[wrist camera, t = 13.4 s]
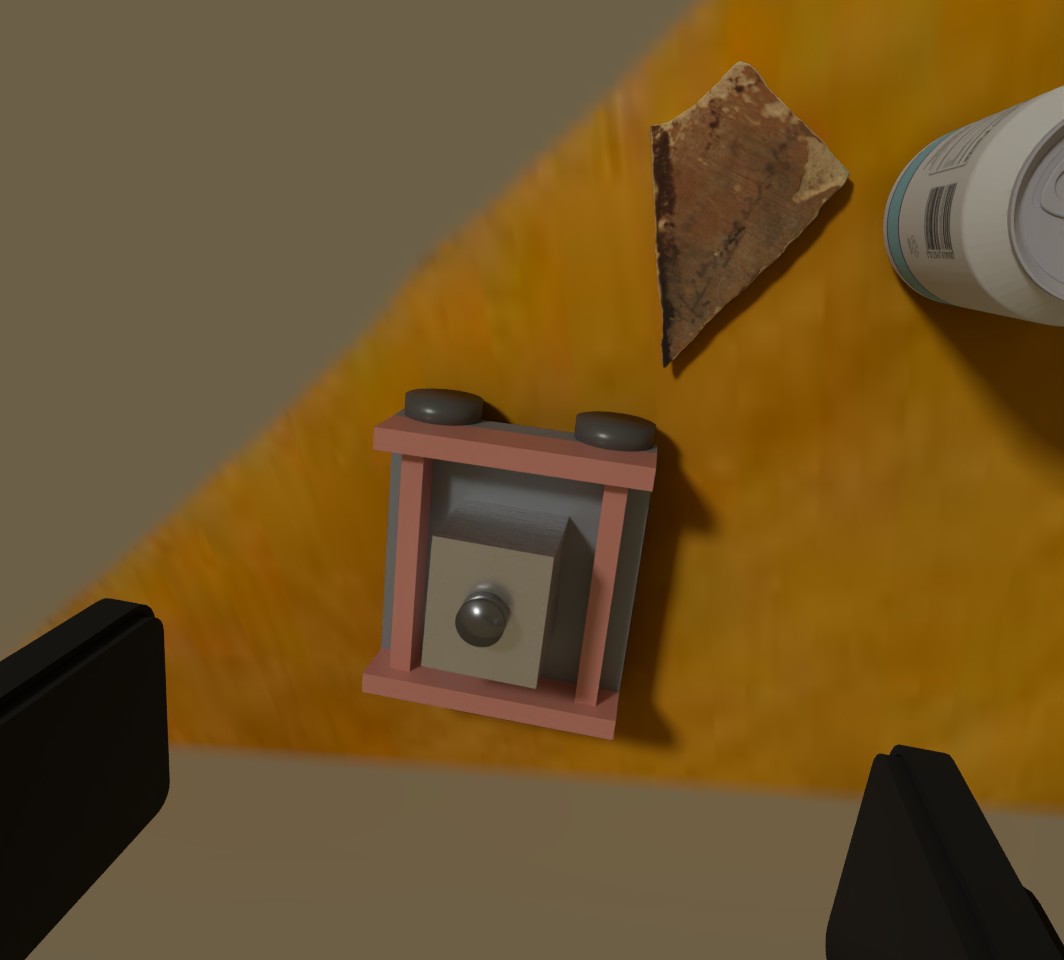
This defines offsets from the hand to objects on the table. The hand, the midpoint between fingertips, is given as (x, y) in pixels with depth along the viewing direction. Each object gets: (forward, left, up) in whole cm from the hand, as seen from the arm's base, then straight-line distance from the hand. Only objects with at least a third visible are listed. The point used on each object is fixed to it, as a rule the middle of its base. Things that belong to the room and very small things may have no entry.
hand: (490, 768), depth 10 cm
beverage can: (-13, -9, -28) cm, 33 cm away
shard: (-4, -8, -29) cm, 30 cm away
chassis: (+4, +9, -28) cm, 30 cm away
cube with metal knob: (+4, +9, -25) cm, 27 cm away
